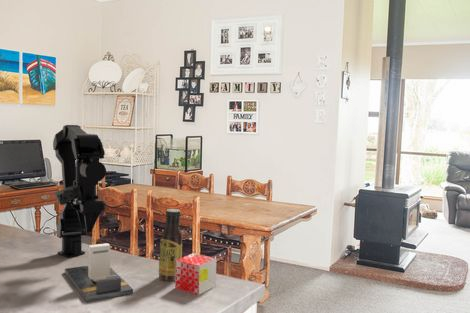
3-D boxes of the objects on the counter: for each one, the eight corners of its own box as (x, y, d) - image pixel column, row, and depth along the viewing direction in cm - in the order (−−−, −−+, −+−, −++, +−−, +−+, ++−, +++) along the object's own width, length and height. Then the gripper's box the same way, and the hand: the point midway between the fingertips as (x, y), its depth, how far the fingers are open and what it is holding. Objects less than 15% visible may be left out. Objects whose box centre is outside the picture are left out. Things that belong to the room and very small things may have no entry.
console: (64, 272, 137) (64, 258, 137) (105, 267, 144) (105, 253, 143) (86, 301, 117) (86, 285, 117) (133, 293, 123) (133, 277, 123)
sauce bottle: (154, 279, 135) (155, 210, 133) (167, 273, 140) (168, 206, 138) (173, 283, 132) (174, 213, 130) (185, 277, 137) (187, 209, 135)
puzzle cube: (198, 294, 124) (199, 265, 124) (175, 288, 128) (175, 259, 128) (215, 286, 131) (216, 258, 130) (192, 280, 135) (193, 253, 135)
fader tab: (88, 279, 128) (88, 245, 128) (107, 276, 131) (107, 242, 130) (90, 282, 126) (91, 247, 125) (110, 279, 129) (110, 245, 128)
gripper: (50, 174, 142) (50, 225, 143) (64, 183, 126) (64, 240, 127) (88, 173, 148) (88, 222, 149) (106, 181, 132) (105, 236, 133)
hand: (85, 230), depth 139 cm, fingers open, 6 cm apart
